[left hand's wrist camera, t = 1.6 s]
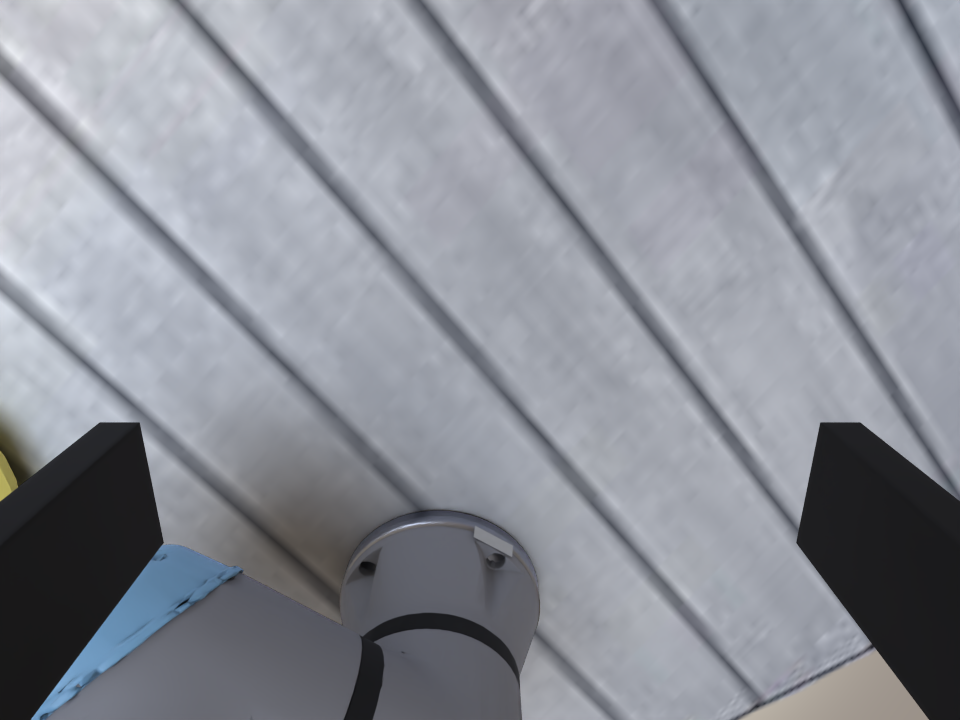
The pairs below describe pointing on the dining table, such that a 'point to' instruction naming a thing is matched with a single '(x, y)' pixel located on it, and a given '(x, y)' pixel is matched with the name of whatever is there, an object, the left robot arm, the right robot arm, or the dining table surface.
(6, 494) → the yellow pot lid
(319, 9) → the dining table surface
